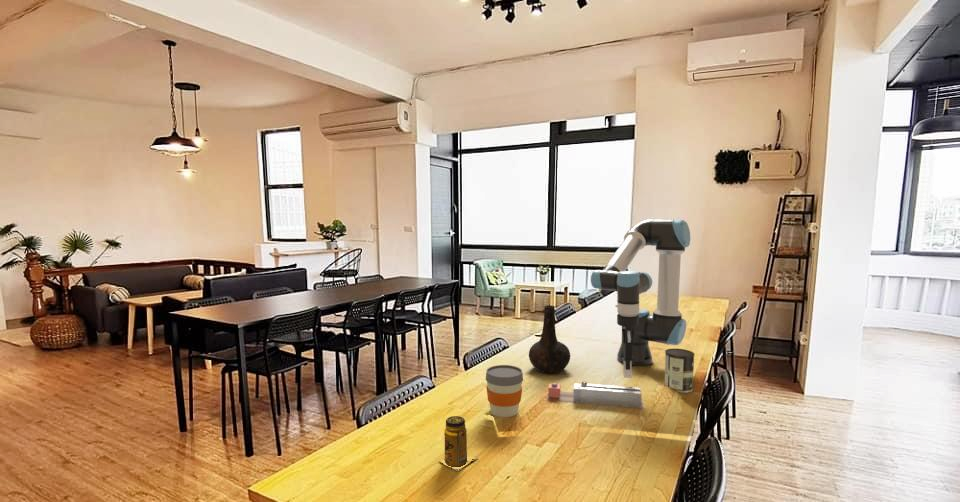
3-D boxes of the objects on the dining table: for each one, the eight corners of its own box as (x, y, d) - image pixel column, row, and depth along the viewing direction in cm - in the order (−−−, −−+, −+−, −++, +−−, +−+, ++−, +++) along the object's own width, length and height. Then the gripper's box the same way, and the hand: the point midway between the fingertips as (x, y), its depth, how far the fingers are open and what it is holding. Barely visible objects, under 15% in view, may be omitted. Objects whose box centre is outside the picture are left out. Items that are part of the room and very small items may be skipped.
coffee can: (689, 383, 178) (690, 348, 177) (696, 393, 168) (697, 357, 167) (661, 381, 180) (662, 347, 179) (667, 391, 170) (668, 355, 169)
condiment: (438, 462, 122) (437, 420, 121) (459, 450, 129) (458, 409, 128) (457, 472, 118) (457, 428, 117) (478, 459, 124) (478, 417, 123)
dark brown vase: (552, 380, 182) (552, 312, 180) (520, 369, 195) (520, 305, 193) (578, 370, 194) (579, 306, 191) (546, 360, 207) (547, 300, 205)
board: (548, 393, 169) (548, 390, 169) (641, 401, 161) (641, 398, 161) (546, 403, 160) (546, 400, 160) (644, 412, 152) (644, 409, 152)
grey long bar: (573, 396, 163) (574, 383, 162) (639, 402, 158) (639, 388, 157) (573, 402, 158) (573, 388, 157) (641, 408, 153) (641, 394, 152)
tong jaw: (581, 396, 162) (581, 381, 161) (639, 401, 158) (639, 385, 157) (581, 399, 160) (581, 383, 159) (640, 403, 156) (640, 387, 155)
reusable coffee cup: (526, 409, 155) (527, 366, 154) (517, 425, 144) (517, 379, 142) (492, 404, 159) (492, 363, 158) (480, 419, 148) (480, 375, 146)
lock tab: (549, 392, 166) (549, 381, 165) (560, 393, 165) (560, 382, 164) (548, 397, 162) (548, 385, 161) (559, 398, 161) (559, 386, 160)
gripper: (616, 309, 170) (615, 369, 172) (618, 318, 157) (617, 383, 160) (637, 310, 168) (636, 371, 170) (640, 319, 155) (640, 384, 158)
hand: (627, 376), depth 165 cm, fingers closed
